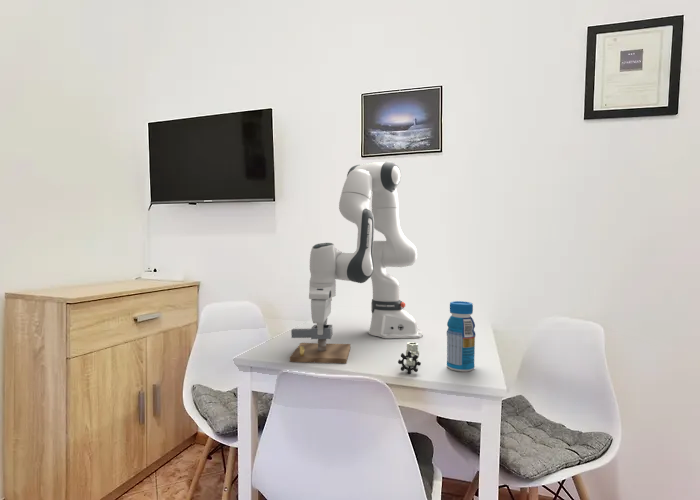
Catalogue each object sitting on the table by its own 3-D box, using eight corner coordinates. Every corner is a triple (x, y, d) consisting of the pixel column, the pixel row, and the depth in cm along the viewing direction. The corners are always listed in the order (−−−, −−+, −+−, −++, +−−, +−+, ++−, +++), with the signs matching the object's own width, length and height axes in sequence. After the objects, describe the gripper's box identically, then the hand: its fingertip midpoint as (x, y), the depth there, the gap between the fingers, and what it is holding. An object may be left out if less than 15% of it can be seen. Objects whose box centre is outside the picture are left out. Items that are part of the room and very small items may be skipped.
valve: (402, 361, 126) (397, 373, 115) (402, 341, 126) (397, 350, 114) (423, 363, 125) (420, 375, 113) (423, 342, 124) (420, 352, 113)
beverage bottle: (444, 370, 117) (445, 303, 117) (447, 362, 125) (448, 299, 125) (474, 374, 114) (475, 305, 114) (475, 365, 122) (476, 301, 122)
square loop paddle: (332, 334, 135) (332, 324, 135) (330, 339, 129) (330, 328, 129) (294, 334, 136) (294, 324, 136) (290, 339, 130) (289, 328, 130)
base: (350, 348, 141) (350, 330, 141) (346, 363, 123) (346, 342, 123) (301, 346, 142) (301, 329, 142) (289, 361, 124) (289, 341, 124)
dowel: (304, 359, 127) (304, 345, 127) (303, 361, 125) (303, 347, 125) (300, 359, 127) (300, 345, 127) (299, 360, 125) (299, 346, 125)
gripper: (317, 287, 143) (317, 325, 143) (308, 294, 123) (307, 338, 123) (335, 287, 142) (334, 325, 143) (328, 294, 122) (327, 339, 122)
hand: (322, 331), depth 132 cm, fingers closed on square loop paddle, 6 cm apart
